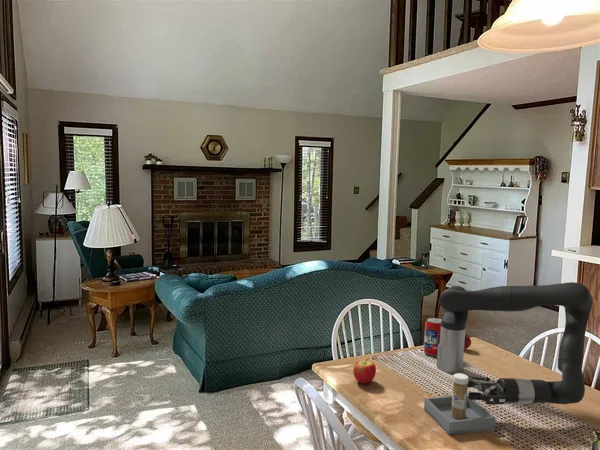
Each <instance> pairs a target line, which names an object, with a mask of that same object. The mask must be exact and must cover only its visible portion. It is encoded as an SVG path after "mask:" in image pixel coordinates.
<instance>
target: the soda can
mask: <svg viewBox="0 0 600 450" xmlns="http://www.w3.org/2000/svg"><path fill="white" fill-rule="evenodd" d="M441 320H442V318H436V317H430V318H427V319H426V321H425V322H424V323H425V325H424V340H423V352H424V353H425V354H426V355H428V356H430V357H437V351H438V344H440V334H441Z"/></svg>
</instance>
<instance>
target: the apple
mask: <svg viewBox="0 0 600 450" xmlns="http://www.w3.org/2000/svg"><path fill="white" fill-rule="evenodd" d="M369 359H370V357H368V358H367V359H365V360H364V359H363V360H358V361H357V362H355V363H354V366H353V376H354V378H355V380H356V381H357V382H358V383H360V384H370V383H372V382H373V380H375V379H374V378H375V377H376V374H377V373H376V372H377V368H376V364H375V363H374V362H373V361H369Z"/></svg>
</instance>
